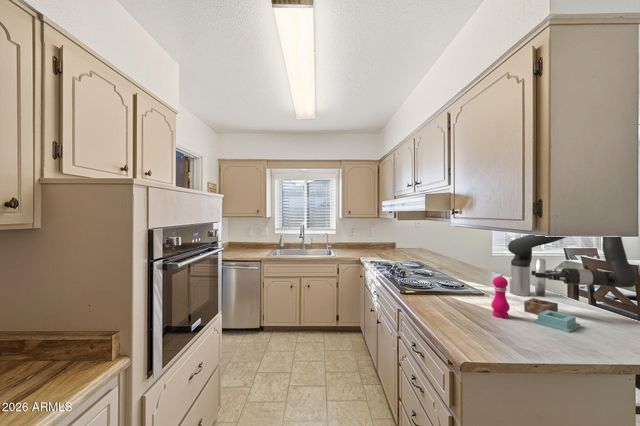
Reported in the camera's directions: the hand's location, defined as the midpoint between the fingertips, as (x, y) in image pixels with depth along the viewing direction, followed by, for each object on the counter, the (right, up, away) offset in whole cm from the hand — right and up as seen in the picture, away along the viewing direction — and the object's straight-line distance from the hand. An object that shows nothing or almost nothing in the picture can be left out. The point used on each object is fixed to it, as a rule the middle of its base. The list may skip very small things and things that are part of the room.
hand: (533, 273), depth 136 cm
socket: (-2, -19, -16) cm, 25 cm away
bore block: (+3, -19, -1) cm, 19 cm away
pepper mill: (-20, -19, -6) cm, 28 cm away
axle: (+3, -11, -1) cm, 11 cm away
